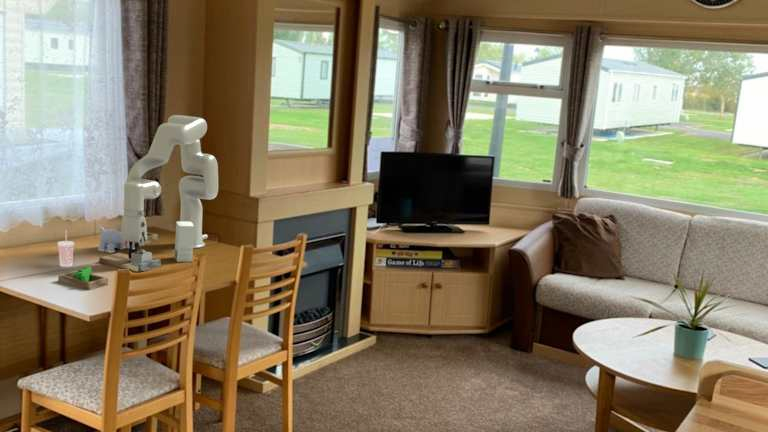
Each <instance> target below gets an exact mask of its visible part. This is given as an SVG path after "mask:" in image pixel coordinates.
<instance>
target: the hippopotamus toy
mask: <svg viewBox="0 0 768 432" xmlns="http://www.w3.org/2000/svg"><path fill="white" fill-rule="evenodd" d="M98 227H99V228H100V230H101V233H100V235H99V240H100V242H99V245H98V247H97V251H98V252H106V253H111V254H112V253H115V252H116V250H115V248H116V249H117V250H124V249H126V248H127V245H126V243H124V242H122V238H121V230H118V229H114V228H113V229H111V228H109V229H105V228H104V227H103V226H100V225H99V226H98Z"/></svg>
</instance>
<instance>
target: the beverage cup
mask: <svg viewBox="0 0 768 432" xmlns="http://www.w3.org/2000/svg"><path fill="white" fill-rule="evenodd" d="M67 237H68V230H67V229H66V230H65V240H62V241H58V242H57V246H58V259H59V266H60V267H64V268H65V267H66V268H68V267H72V266H73V263H74V248H75V242H74V241H70V240H68V239H67Z"/></svg>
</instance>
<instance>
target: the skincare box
mask: <svg viewBox="0 0 768 432" xmlns="http://www.w3.org/2000/svg"><path fill="white" fill-rule="evenodd" d="M174 239H175V240H174V241H175V243H174V256H173V257H174V259H175V260H176V262H177V263H182V262H183V263H185V262H186V263H187V262H190V263H191V261H192V262H193V256H194V255H193V251H194V248H193V239H194V225H193V223H192V222H191V221H180V220H179V221H175V238H174Z"/></svg>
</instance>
